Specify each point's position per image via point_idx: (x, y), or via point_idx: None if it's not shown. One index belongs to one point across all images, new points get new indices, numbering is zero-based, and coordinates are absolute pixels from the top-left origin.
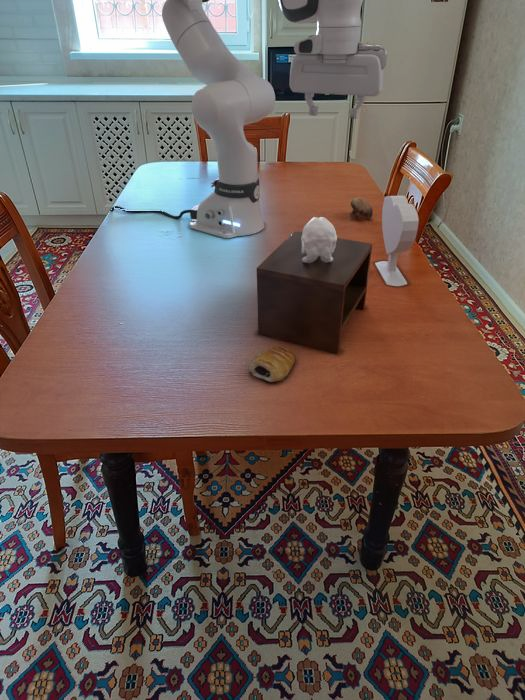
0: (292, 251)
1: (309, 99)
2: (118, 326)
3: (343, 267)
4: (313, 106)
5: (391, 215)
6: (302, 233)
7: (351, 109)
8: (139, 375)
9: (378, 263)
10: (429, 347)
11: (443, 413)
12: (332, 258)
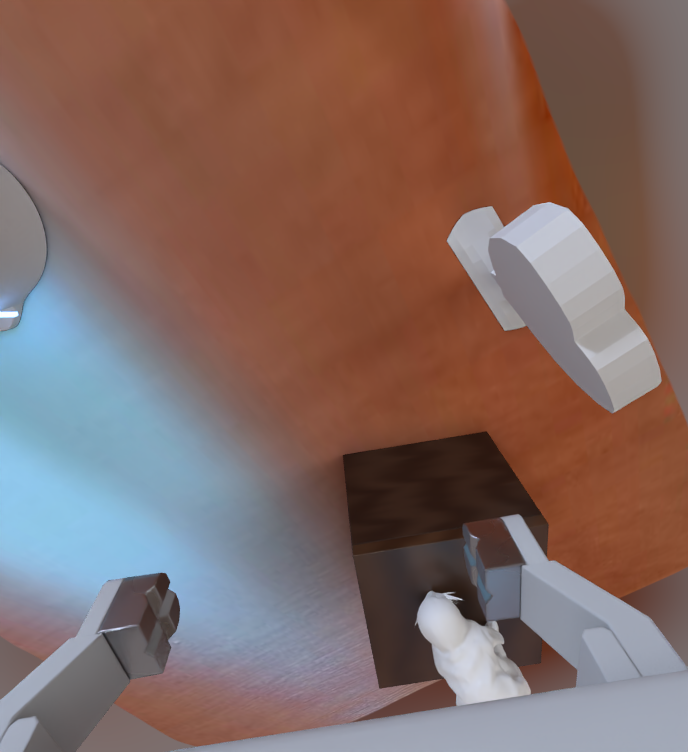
0: (403, 624)
1: (61, 745)
2: (179, 647)
3: (521, 625)
4: (119, 657)
5: (553, 325)
6: (439, 673)
7: (492, 612)
8: (292, 680)
9: (458, 242)
10: (611, 476)
11: (635, 571)
12: (498, 630)
